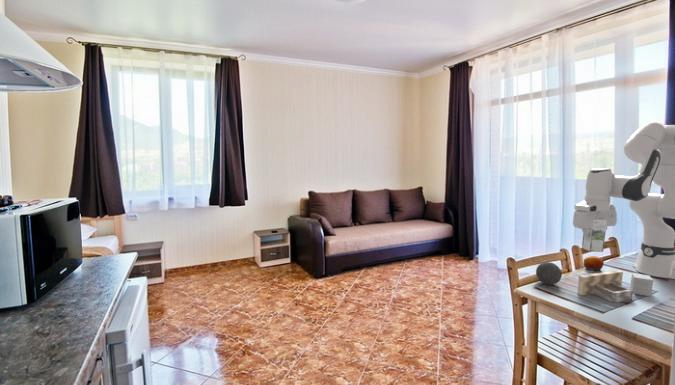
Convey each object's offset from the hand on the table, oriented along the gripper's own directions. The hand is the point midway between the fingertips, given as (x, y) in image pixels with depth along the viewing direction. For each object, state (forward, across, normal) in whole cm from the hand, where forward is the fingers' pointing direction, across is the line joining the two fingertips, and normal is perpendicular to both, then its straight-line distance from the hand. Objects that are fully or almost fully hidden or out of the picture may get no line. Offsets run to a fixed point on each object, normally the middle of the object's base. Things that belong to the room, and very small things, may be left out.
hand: (593, 236), depth 149 cm
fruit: (+23, -23, -17) cm, 37 cm away
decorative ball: (+23, +14, -8) cm, 28 cm away
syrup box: (+6, 0, 0) cm, 6 cm away
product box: (+23, -16, +10) cm, 30 cm away
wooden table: (+23, 0, +9) cm, 25 cm away
